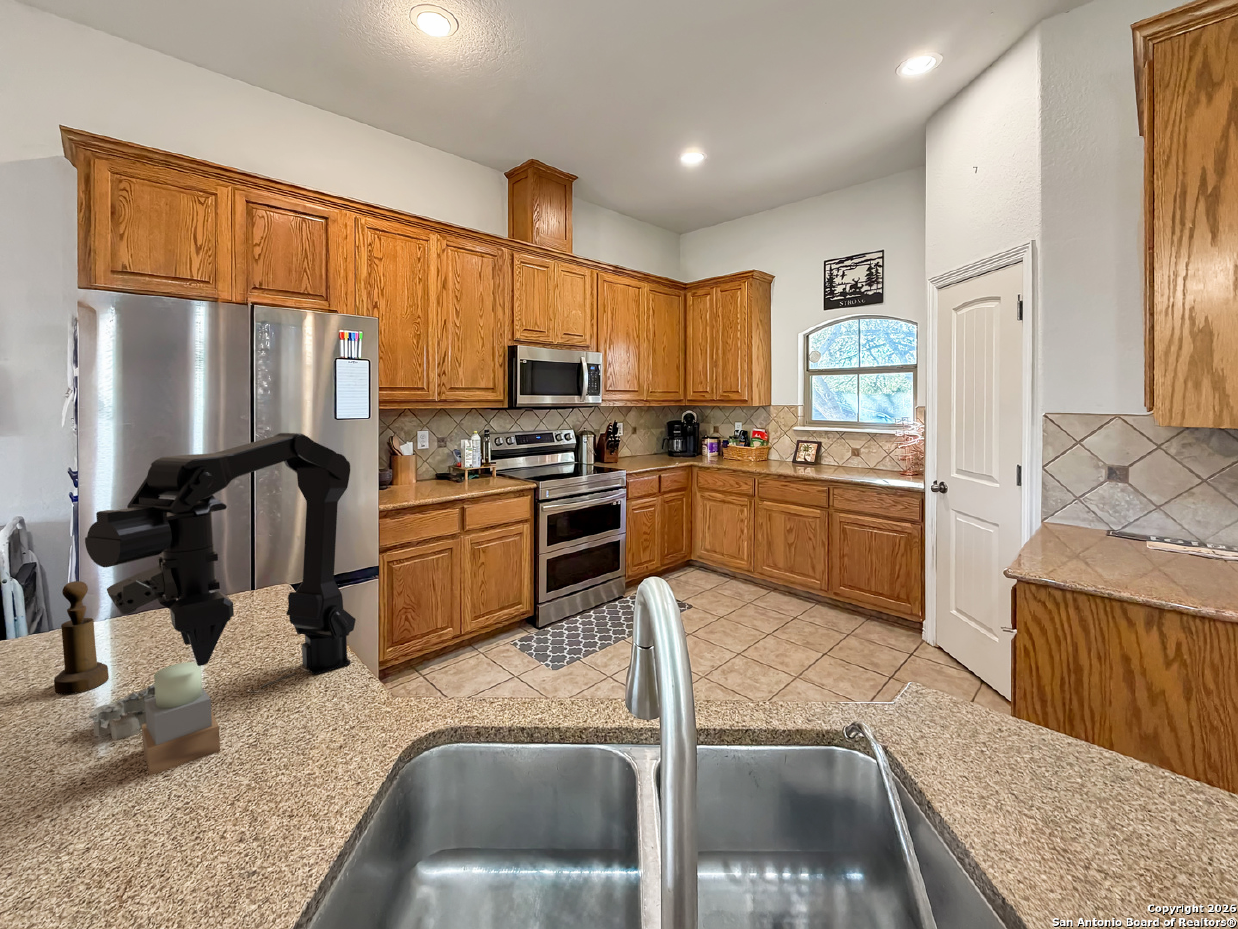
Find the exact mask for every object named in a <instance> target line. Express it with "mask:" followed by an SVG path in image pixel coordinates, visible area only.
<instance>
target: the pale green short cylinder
mask: <svg viewBox="0 0 1238 929" xmlns="http://www.w3.org/2000/svg"><path fill="white" fill-rule="evenodd" d="M153 679H154V680H153V681H154V682H153V683H155V700H156V706H157V707H159V708H174V707H179V706H183V705H186V704H189V703H191V702H193V701H195V700H197V699H198V698H200V697H201V695H202V689H203V682H202V681H203V680H202V679H203V678H202V666H198V665H197V663H196V661H195V662H192V661H191V662H190V661H189V662H180V663H175V664H172V665H169V666H167V667H163V668H161V669H160V670H158V671H157V672H155V673H154V677H153Z"/></svg>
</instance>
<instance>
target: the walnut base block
mask: <svg viewBox="0 0 1238 929" xmlns="http://www.w3.org/2000/svg"><path fill="white" fill-rule="evenodd" d="M211 715H212V726H211V727H208V728H205V729H202V730H199V731H197V732H194V733H191V734H188V735H185V736H182V737H179V738H177V739H174V740H171V741H168V742H165V743H162V744H159V745H157V746H156V744H155V742H154V741H153V739H152V737H151V735H150V733H149V731H148V730H147V728H146V724H143V725H142V728H141V735H142V737H141V738H142V750H143V754H144V758H145V762H146V766H147V770H148V775H149V777H150V776H154V775H156V774H159V773H162V772H165V771H168V770H170V769H174V768H176V767H178V766H181V765H185V764H188V763H191V762H194V761H196V760H200V759H202V758H206V757H207V756H211V755H213V754H216V753H217V754H218V753H219V752H221V738H220V737H221V736H220V725H219V723H218V721H217V719H216V717H215V715H214V713H213V711H212V710H211Z"/></svg>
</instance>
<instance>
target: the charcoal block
mask: <svg viewBox="0 0 1238 929" xmlns="http://www.w3.org/2000/svg"><path fill="white" fill-rule="evenodd" d="M211 711H212V700H211V697H210V696H209V694H208V693H207V692H206V691H205V690H204V689H203V688H202V695H201V697H200V698H198V699H197V700H195V701H193V702H191V703H189V704H186V705H183V706H179V707H174V708H159V707H157V706H156V700H155V697H153V698H150V699H146V700H145V712H146V728H147V730H148V731H149V733H150V735H151V737H152V739H153V741H154V742H155V744H156V746H157V745H159V744H162V743H165V742H168V741H171V740H174V739H177V738H179V737H182V736H185V735H188V734H191V733H194V732H197V731H199V730H202V729H205V728H208V727H211V726H212V715H211Z"/></svg>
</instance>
